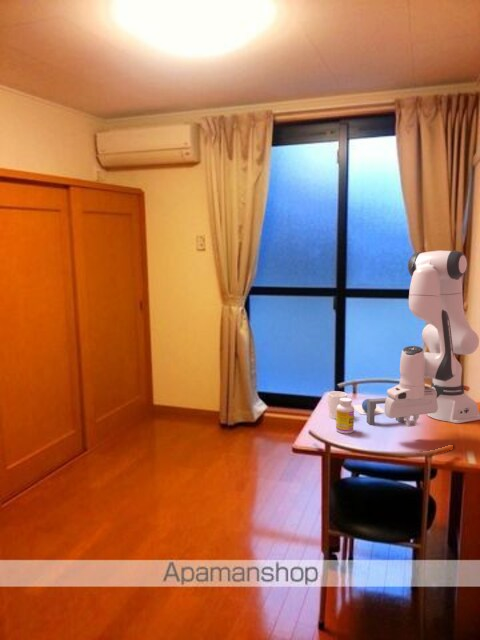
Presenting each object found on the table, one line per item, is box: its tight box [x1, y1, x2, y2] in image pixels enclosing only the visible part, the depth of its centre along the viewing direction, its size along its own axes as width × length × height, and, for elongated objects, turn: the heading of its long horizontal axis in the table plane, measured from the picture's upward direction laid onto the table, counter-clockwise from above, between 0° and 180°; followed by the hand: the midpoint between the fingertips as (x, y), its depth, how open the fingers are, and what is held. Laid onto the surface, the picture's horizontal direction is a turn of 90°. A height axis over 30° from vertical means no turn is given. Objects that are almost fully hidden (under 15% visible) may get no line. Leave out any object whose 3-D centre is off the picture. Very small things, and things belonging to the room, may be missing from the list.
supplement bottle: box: [335, 397, 355, 435], centre depth 192 cm, size 7×7×13 cm
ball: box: [361, 398, 377, 412], centre depth 213 cm, size 6×6×6 cm
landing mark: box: [351, 404, 385, 416], centre depth 218 cm, size 12×12×1 cm
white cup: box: [327, 390, 348, 420], centre depth 208 cm, size 8×8×10 cm
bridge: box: [366, 397, 405, 425], centre depth 201 cm, size 3×15×10 cm, turn 100°
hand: (410, 426), depth 185 cm, fingers closed
